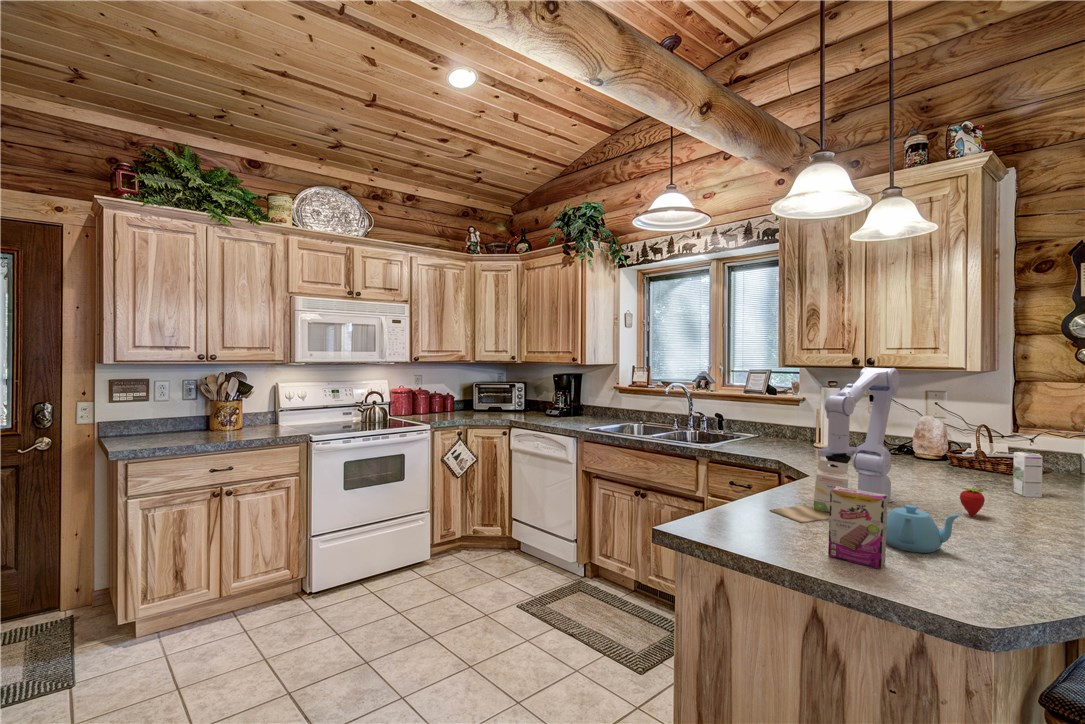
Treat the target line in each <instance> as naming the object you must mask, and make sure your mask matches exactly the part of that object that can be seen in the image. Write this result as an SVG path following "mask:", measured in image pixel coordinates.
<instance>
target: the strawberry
mask: <svg viewBox="0 0 1085 724" xmlns="http://www.w3.org/2000/svg"><path fill="white" fill-rule="evenodd" d="M961 489H963V491H961V492H960V494H959V501H960V504H961V505H962V506H963V508H964V509H965V510H966V512H967V513H968V515H969V516H971V517H975V516H976V515H977V513H978V512H980V510H981V509H982V508H983V507H984V504H985V501H986V499H985V496H984V495H983V494H982V493H981V492H983V490H981V489H980V490H979V489H976V488H974V487H972V488H967V487H961Z"/></svg>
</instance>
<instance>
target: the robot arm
mask: <svg viewBox="0 0 1085 724" xmlns="http://www.w3.org/2000/svg"><path fill="white" fill-rule="evenodd" d="M859 373H860V374H859V378H858V379H857V380H856V381H855V382H854V383H847V384H845V385H846V386H845V387H843V388H842V389H841V390H840V391H839V392H837V393H836V394H833V395H829V396H828V397H827V398H826V399H825V403H824V410H825V412H826V413H825V414H826V418H827V419H828V423H827V424H828V425H827V428H828V429H827V446H826V445H825V447H824V448H819V449H817V456H819V457H822V458H823V457H825V458H826V461H833V462H839V463H846V464H848V463H849V462H850V461H851V463H852V467H853V469H854V470H855V473H857V490H861V491H867V492H873V493H879V494H885V495H887V496H888V503H893V502H894V500H893V499H891V492H892V490H891V489H892V483H891V482H892V481H891V478H890V477H889V476H888V474H889V473H890V471H891V468H892V462H891V459H892V458H891V457H892V454H891V452H890V451H889V450H888V449H887V448H886V447H885V446H884V441H885V437H886V432H887V431H886V429H887V425H888V420H889V414H890V411H891V410H890V409H891V405H892V404H891V403H892V399H893V397H894V396H896V395H897V394H898V390H899V385H900V379H901V378H900V375H899V371H898V370H897V369H896V368H895V367H892V368H891V367H889V368H887V367H886V368H885V367H867V366H865V367H863V368H862V369H861V370H860V372H859ZM864 392H867V393H868V394H870V395H872V396H873V399H872V401H873V402H872V407H871V411H870V416H869V421H868V427H867V431H866V437H865V442H864V443H862V444H860V445H858V446H856V447H855V446H850V423H851V422H850V420H851V419H850V416H851V415H852V414H853V413H854V410H855V408H856V405H857V403H859V402H860V401H861V400H862V399H863V397H864V396H865V393H864ZM852 454H853V455H852ZM850 455H852V456H850ZM851 457H852V458H851ZM848 465H849V464H848ZM829 466H830V467H836V468H838V466H836V465H834V464H832V465H829Z"/></svg>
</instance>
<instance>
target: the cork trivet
mask: <svg viewBox="0 0 1085 724" xmlns="http://www.w3.org/2000/svg"><path fill="white" fill-rule="evenodd" d="M769 512H771V513H775V514H776V515H778V516H781V517H784V518H787V519H789V520H793V521H795V522H797V523H799V524H804V523H806V524H807V523H812V522H819V521H827V520H830V513H829V512H826V511H822V510H817V509H814V507H810V506H807V505H805V504H804V505H797V506H796V505H795V506H788V507H782V508H774V509H773V508H771V509H769Z"/></svg>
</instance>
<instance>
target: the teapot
mask: <svg viewBox="0 0 1085 724" xmlns="http://www.w3.org/2000/svg"><path fill="white" fill-rule="evenodd" d="M961 516H962V514H951V515H948V516H947V517H946V518H945V524H944V527H943V528H942V529H939V527H938V526H937V523H936V522H935V521H934V519H933V517H932V516H931V515H930V513H928V512H925V511H922V510H920V509H918V506H916V505H912V504H905V505H904V507H895V508H892V510H891V511H889V512H888V513H887V528H886V545H889V546H891V547H893V548H896V549H899V550H903V551H907V552H912V553H918V554H919V553H920V554H928V553H934V552H936V551H937V550H938V549H940V548H941V547H942V545H943V543H947V541H949V539H950V538H951V536H952V532H953V524H954V522H955V520H956V519H957V518H958V517H961Z"/></svg>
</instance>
